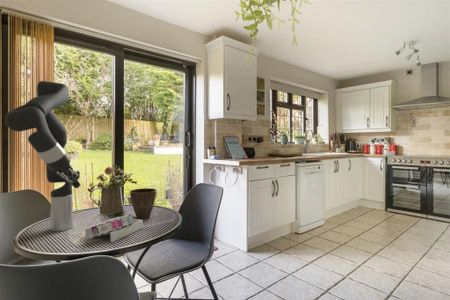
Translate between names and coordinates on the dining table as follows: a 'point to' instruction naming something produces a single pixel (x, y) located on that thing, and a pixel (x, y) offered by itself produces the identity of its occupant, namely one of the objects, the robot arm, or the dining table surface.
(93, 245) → the dining table surface
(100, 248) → the dining table surface
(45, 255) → the dining table surface
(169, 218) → the dining table surface
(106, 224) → the candy bar box
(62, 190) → the robot arm
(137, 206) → the plant pot
